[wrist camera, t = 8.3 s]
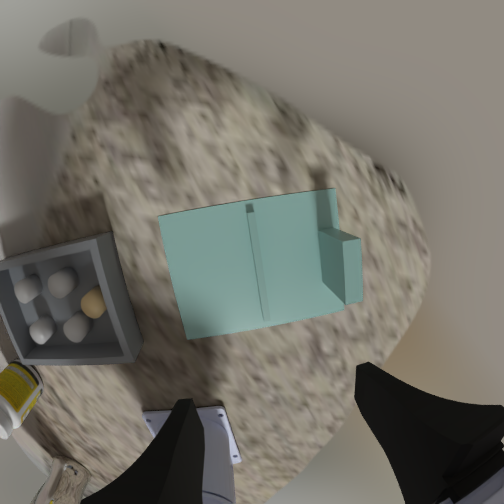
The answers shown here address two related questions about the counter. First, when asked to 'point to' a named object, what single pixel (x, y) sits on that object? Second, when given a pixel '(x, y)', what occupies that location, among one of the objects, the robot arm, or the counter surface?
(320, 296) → the lid
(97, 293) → the tub
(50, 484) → the beer glass
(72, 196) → the counter surface
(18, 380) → the supplement bottle
